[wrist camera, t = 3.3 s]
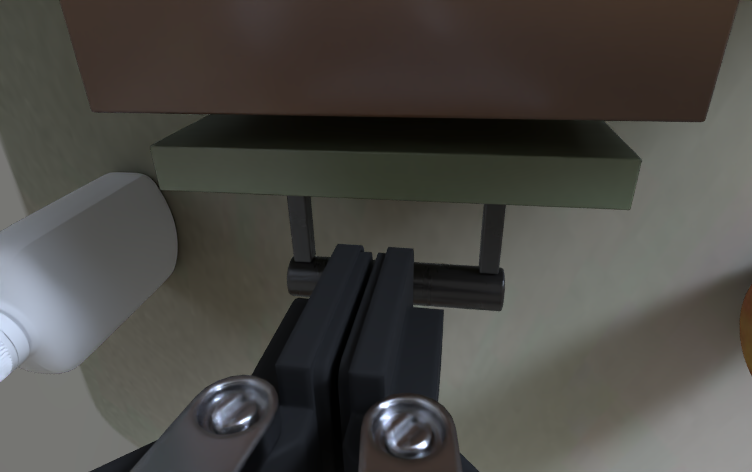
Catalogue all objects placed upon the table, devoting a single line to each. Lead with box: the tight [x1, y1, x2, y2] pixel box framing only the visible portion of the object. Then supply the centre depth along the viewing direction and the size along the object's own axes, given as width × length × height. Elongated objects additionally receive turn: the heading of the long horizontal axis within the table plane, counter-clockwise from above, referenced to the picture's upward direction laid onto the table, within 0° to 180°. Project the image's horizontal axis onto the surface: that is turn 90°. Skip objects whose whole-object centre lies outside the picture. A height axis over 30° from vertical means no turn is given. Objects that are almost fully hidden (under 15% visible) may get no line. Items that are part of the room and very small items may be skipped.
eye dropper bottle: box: [0, 172, 178, 382], centre depth 19 cm, size 4×6×12 cm
